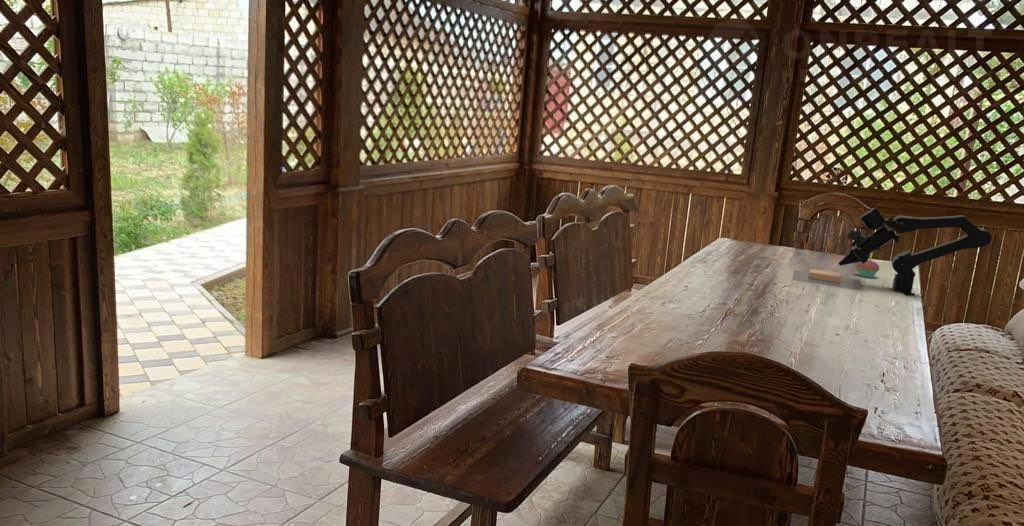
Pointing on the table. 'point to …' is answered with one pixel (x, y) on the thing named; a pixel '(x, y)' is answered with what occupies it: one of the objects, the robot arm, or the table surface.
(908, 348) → the table surface
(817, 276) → the tile
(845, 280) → the board
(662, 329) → the table surface
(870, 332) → the table surface
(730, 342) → the table surface
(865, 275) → the cupcake
